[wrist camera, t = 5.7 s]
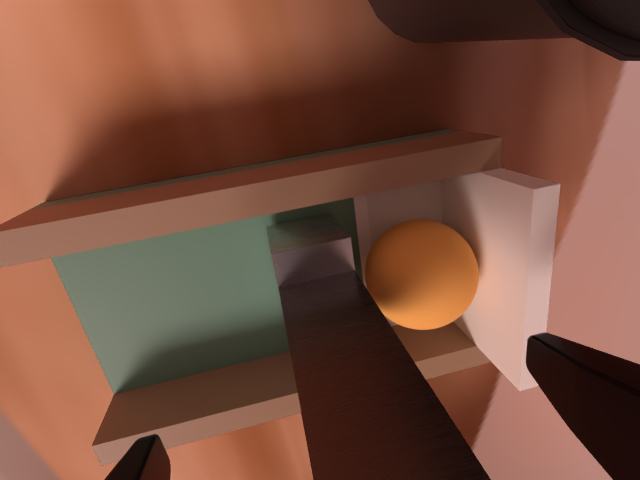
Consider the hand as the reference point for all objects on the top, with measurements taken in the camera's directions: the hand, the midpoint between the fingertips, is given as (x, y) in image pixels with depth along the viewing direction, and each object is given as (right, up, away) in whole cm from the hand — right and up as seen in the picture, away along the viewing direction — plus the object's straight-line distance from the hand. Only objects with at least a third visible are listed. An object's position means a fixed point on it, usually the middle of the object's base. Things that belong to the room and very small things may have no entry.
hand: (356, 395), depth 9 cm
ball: (+3, +2, +5) cm, 6 cm away
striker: (-1, +2, +6) cm, 7 cm away
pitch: (-3, +2, +7) cm, 8 cm away
